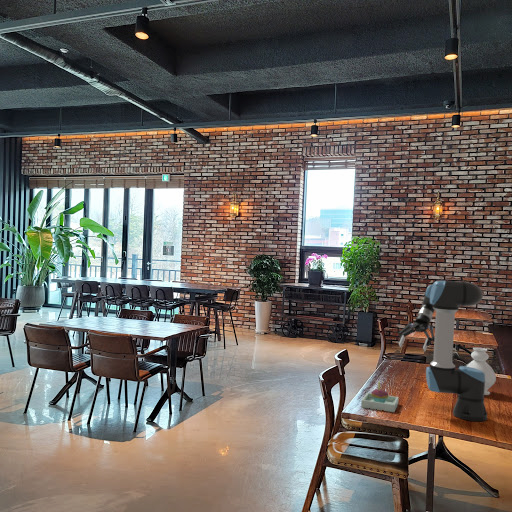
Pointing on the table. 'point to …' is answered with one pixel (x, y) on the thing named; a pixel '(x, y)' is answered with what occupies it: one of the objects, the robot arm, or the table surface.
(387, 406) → the tray
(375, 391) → the cupcake
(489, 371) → the decorative vase
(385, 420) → the table surface
